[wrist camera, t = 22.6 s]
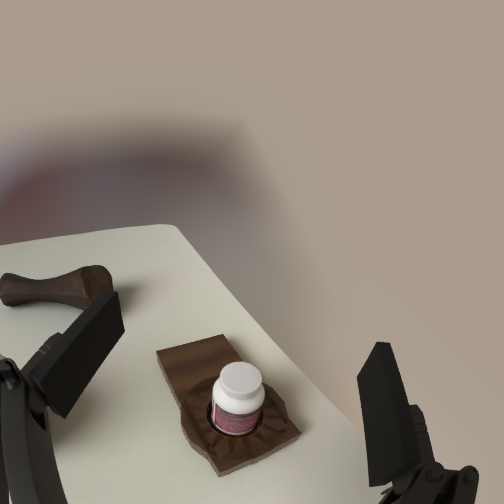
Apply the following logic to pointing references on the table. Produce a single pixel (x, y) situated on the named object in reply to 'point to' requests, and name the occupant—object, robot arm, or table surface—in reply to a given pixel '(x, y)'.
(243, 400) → the pill bottle
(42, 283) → the dark brown bone
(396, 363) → the robot arm
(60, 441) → the table surface
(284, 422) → the plate
